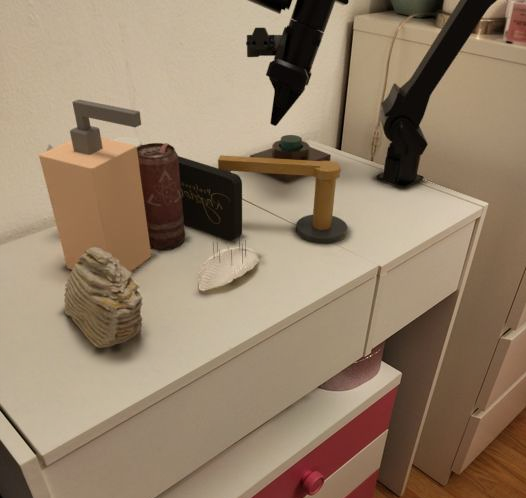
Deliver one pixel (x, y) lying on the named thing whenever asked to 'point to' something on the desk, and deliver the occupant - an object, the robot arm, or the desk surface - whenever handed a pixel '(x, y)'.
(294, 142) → the button
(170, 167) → the can
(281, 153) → the button box
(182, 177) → the nameplate
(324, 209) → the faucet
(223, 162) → the spout
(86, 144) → the soap dispenser
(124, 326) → the fossil tooth
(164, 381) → the desk surface
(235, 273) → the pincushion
